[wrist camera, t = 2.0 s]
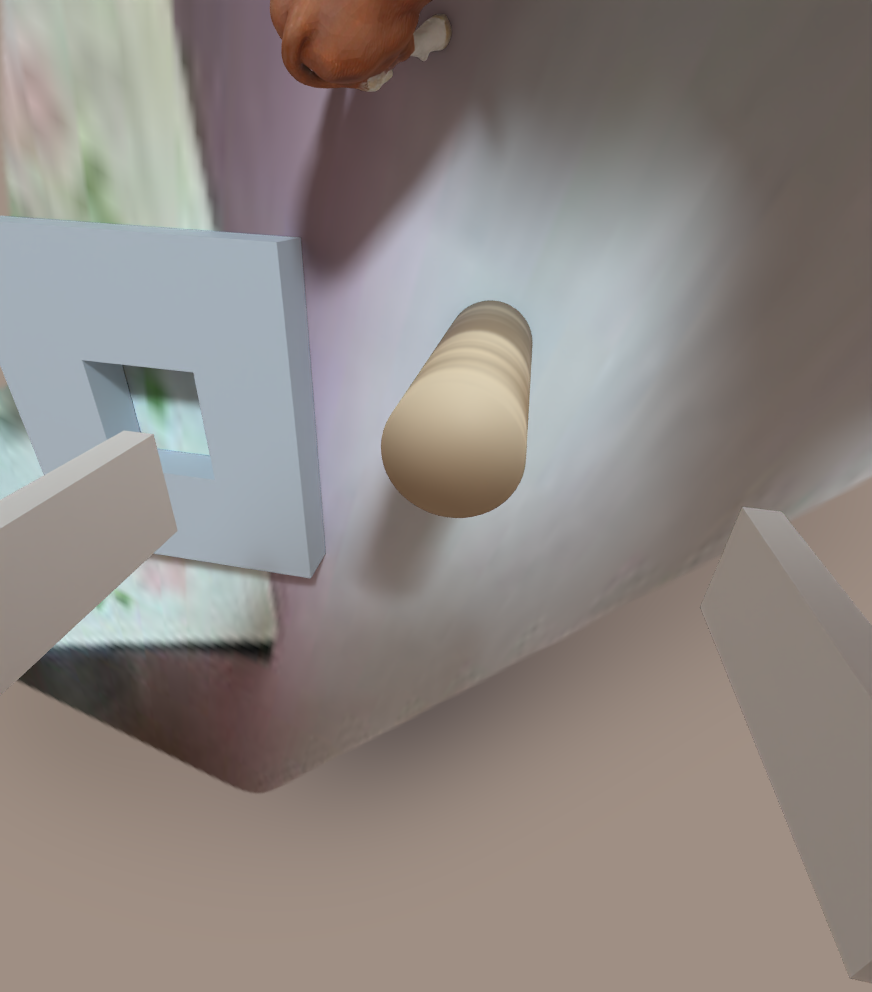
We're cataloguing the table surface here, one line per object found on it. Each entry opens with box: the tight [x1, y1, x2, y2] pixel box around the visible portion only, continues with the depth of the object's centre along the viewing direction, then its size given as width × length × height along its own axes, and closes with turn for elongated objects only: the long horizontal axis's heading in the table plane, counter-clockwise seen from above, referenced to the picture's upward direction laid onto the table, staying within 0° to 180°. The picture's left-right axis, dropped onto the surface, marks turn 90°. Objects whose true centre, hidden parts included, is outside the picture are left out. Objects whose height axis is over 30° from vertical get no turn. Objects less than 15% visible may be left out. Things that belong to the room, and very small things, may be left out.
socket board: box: [0, 216, 326, 578], centre depth 28 cm, size 18×16×2 cm
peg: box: [381, 301, 532, 518], centre depth 19 cm, size 4×4×12 cm
